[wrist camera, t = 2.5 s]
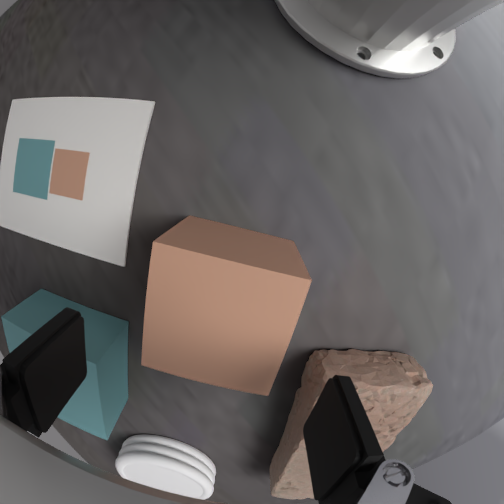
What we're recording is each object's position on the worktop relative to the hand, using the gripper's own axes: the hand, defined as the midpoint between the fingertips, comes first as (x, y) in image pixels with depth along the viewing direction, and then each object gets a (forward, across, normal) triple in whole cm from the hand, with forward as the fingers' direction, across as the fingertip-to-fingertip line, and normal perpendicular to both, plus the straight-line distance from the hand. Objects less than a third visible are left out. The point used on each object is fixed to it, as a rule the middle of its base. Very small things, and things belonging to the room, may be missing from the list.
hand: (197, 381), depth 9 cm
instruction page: (+8, +13, -5) cm, 16 cm away
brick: (+9, -11, +10) cm, 17 cm away
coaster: (+9, +2, +21) cm, 23 cm away
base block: (+8, +10, +8) cm, 15 cm away
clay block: (+8, 0, -1) cm, 8 cm away
